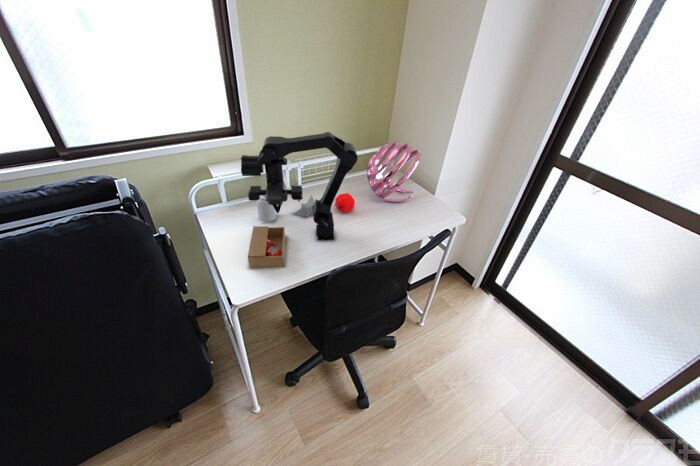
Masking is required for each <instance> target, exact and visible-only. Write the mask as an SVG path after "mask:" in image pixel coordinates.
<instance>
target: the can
mask: <svg viewBox="0 0 700 466" xmlns="http://www.w3.org/2000/svg"><path fill="white" fill-rule="evenodd" d="M255 203H256V210H257V216H258V219H259V221H261V222H263V223H271V222H273V221H274V220H276V218H277V212H276V210H275V209H274V207H273V205H269V204H268V202H266V197H265V195H260V199H259V200H255Z"/></svg>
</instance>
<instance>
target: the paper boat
mask: <svg viewBox="0 0 700 466" xmlns="http://www.w3.org/2000/svg"><path fill="white" fill-rule="evenodd" d="M297 202H298V203H300V206H301V207H300V208H299V209H298V210H297V211H295V212H294V213H293V215H294V216H297V217H300V218H302V219H303V218H307V217H308V216H310V215H311V214H313V212H312V206H313V205H314V203H315V200H314V197H313V195H312V194H311V195H310V197H309V198H308V200H307V201H306V202H305V203H301V200H297Z"/></svg>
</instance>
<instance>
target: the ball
mask: <svg viewBox="0 0 700 466" xmlns="http://www.w3.org/2000/svg"><path fill="white" fill-rule="evenodd" d="M334 206H335V208H336V209H337V210H338V211H339V212H340V213H342V214H344V213H349V212H352V211H353V210H354V209H355V207H356V200H355V198H354V197H353V195H351V194H350V193H349V192H344V193H340V194H338V195H336V197H335V199H334Z"/></svg>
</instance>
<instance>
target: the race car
mask: <svg viewBox="0 0 700 466" xmlns="http://www.w3.org/2000/svg"><path fill="white" fill-rule="evenodd" d="M276 245H277V244H276ZM276 245H275V244H274V243H273V241H272V240H271V239H270V238H269V237H268V238H267V246H266V254H265V255H266V256H282V252H281V250H280V249H279V248H278V247H277V246H276Z"/></svg>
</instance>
